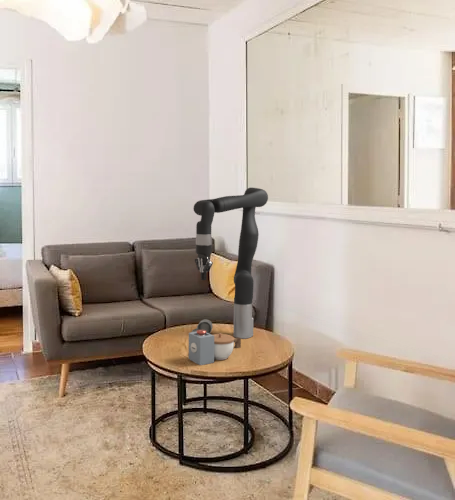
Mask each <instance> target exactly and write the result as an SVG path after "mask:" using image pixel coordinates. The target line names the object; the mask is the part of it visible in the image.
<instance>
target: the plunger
mask: <svg viewBox="0 0 455 500" xmlns="http://www.w3.org/2000/svg"><path fill="white" fill-rule="evenodd" d="M197 334H198V336H199V337H200V336H205V334H206V330H197Z"/></svg>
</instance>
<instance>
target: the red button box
mask: <svg viewBox="0 0 455 500" xmlns="http://www.w3.org/2000/svg"><path fill="white" fill-rule="evenodd" d="M189 359H190V360H189ZM188 360H189V361H192V362H193V363H195V364H196V365H199V366H205V365H208V364H214V363H215V359H214V335H213V334H211V333H210V334H209V333H207V332H206V334H205V336H200V337H199V336H198V334H197V332H192V331H191V332H188Z"/></svg>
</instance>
